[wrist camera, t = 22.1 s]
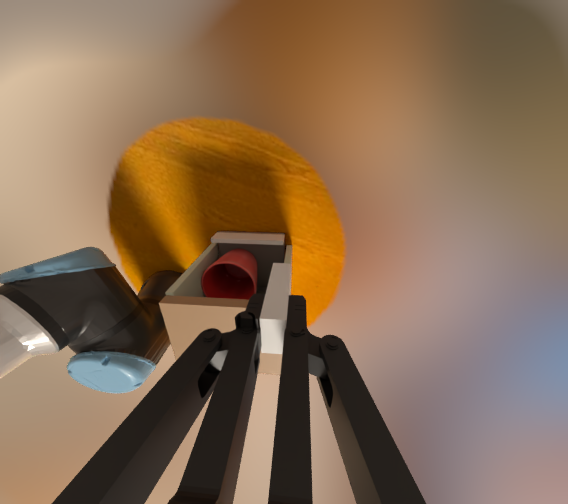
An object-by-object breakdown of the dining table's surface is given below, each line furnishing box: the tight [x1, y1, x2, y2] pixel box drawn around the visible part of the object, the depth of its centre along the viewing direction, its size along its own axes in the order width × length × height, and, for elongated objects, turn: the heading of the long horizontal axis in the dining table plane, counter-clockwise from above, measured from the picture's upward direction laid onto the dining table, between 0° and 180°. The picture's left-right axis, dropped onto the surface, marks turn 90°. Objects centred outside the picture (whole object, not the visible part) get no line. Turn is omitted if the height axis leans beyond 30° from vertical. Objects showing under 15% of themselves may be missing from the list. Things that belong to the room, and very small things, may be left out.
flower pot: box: [201, 249, 257, 300], centre depth 46 cm, size 11×11×10 cm
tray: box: [211, 231, 285, 294], centre depth 49 cm, size 15×14×4 cm
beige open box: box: [159, 243, 292, 375], centre depth 42 cm, size 18×14×21 cm
